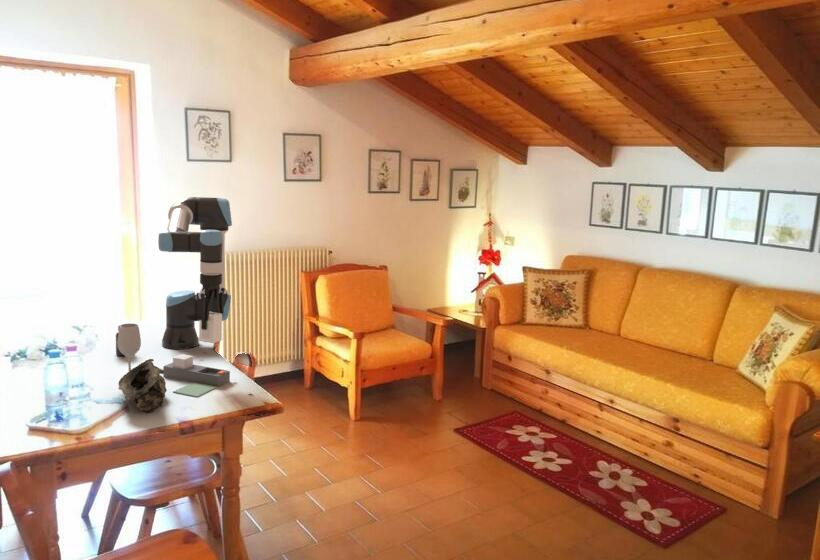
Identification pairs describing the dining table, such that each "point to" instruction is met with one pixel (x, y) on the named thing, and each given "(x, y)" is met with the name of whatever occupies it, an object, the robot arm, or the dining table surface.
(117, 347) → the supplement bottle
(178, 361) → the block
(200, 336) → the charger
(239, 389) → the dining table surface
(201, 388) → the felt mat
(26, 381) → the dining table surface
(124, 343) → the wineglass
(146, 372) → the hollow geode rock
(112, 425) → the dining table surface
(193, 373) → the power strip
